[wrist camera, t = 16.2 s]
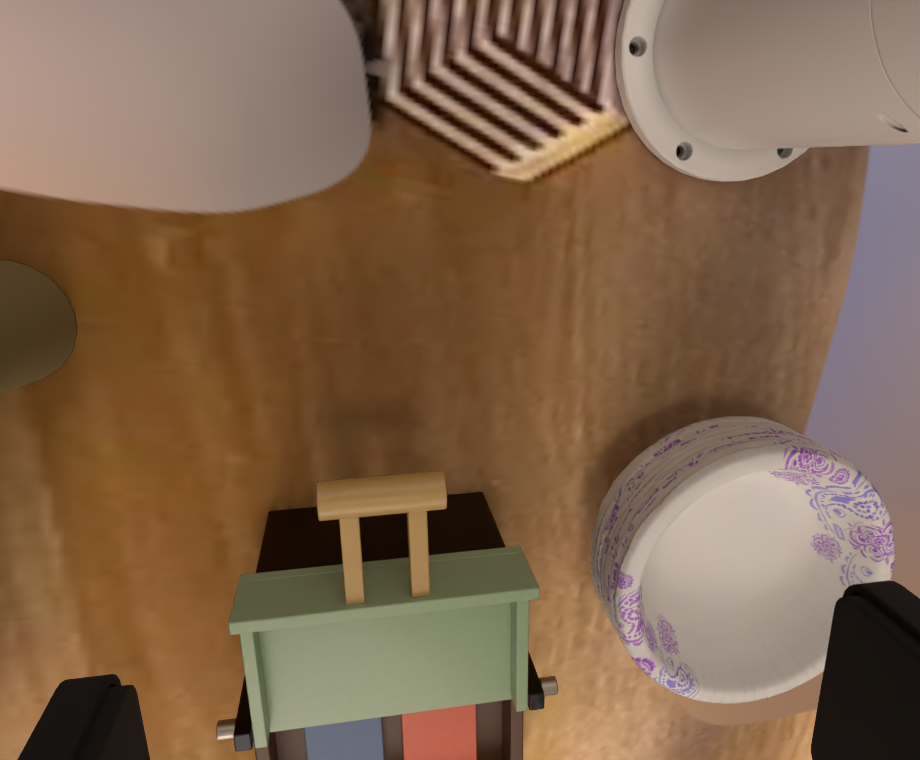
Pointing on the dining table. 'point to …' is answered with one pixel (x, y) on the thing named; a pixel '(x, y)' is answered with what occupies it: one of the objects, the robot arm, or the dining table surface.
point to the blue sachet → (346, 741)
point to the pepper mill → (32, 326)
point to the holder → (493, 735)
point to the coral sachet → (440, 734)
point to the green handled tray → (383, 620)
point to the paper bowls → (735, 556)
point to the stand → (382, 537)
